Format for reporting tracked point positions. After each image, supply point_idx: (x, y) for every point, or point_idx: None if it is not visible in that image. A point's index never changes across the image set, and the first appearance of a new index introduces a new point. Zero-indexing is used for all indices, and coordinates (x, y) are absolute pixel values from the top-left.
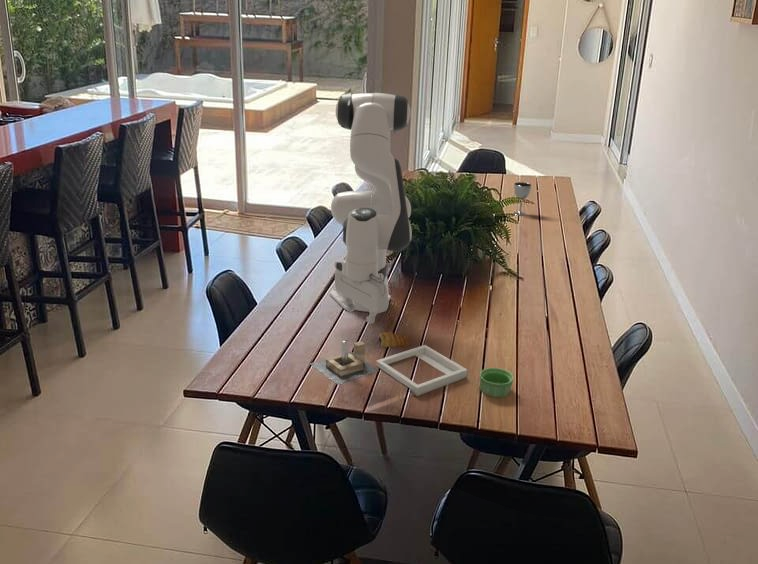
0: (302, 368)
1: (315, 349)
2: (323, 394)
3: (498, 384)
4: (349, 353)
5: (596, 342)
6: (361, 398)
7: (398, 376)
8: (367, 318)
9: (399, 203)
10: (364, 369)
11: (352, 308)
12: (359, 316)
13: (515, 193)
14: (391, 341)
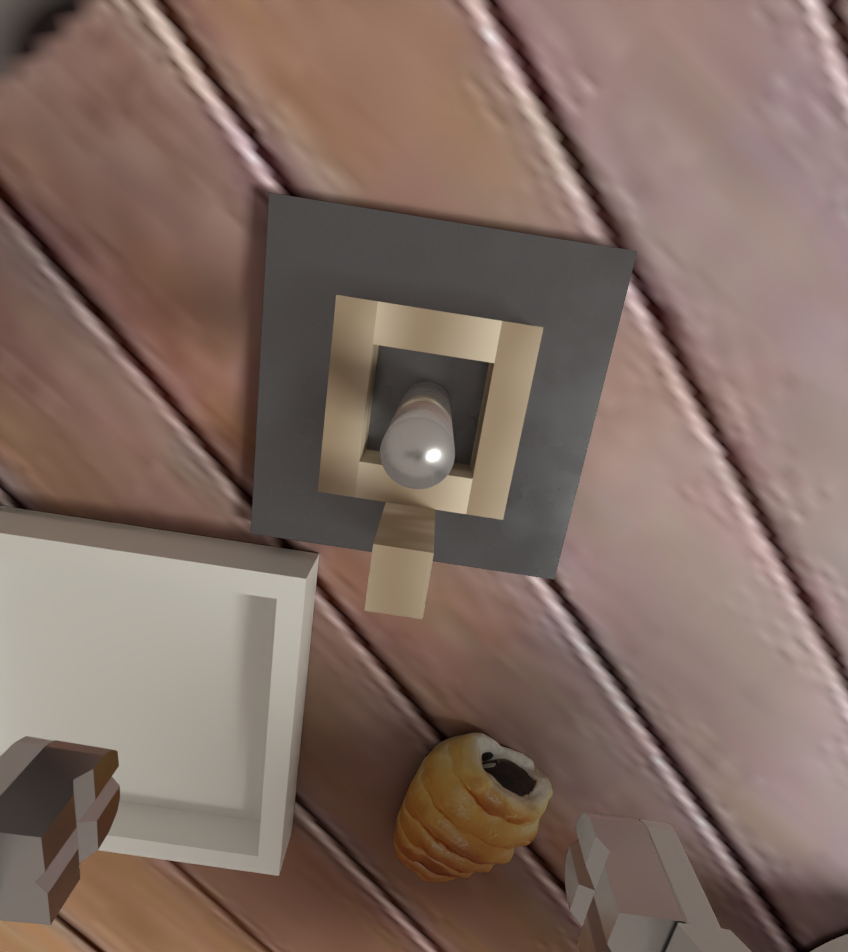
0: (650, 197)
1: (765, 456)
2: (268, 50)
3: None
4: (480, 514)
5: None
6: (83, 231)
7: (77, 540)
8: (26, 802)
9: None
10: (317, 478)
11: (588, 899)
12: (823, 889)
13: None
14: (434, 796)
